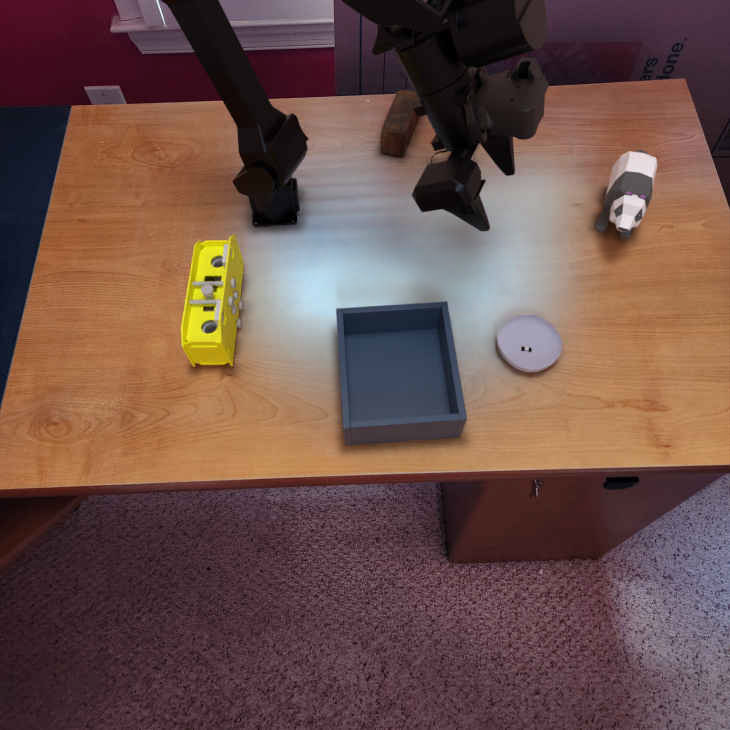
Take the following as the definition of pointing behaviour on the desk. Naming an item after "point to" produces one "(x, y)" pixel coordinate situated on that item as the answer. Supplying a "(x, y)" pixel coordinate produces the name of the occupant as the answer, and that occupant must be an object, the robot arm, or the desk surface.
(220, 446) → the desk surface
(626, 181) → the giant panda
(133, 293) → the desk surface
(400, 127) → the brick
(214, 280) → the yellow toy chassis
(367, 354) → the bin
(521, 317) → the pale lavender disc
